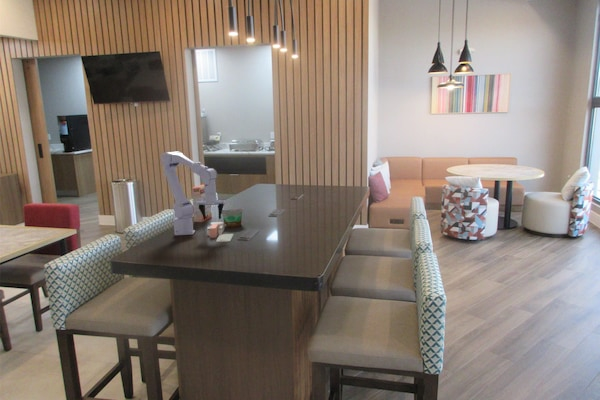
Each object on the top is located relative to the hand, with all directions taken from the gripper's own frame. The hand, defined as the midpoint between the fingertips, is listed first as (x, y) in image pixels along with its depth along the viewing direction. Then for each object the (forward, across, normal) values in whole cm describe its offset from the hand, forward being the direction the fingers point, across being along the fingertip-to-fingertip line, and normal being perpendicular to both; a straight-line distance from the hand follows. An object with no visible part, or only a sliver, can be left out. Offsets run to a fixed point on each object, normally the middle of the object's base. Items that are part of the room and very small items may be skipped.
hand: (212, 218), depth 219 cm
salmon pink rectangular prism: (+10, 0, +3) cm, 10 cm away
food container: (+10, +8, +19) cm, 23 cm away
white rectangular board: (+9, +6, -5) cm, 12 cm away
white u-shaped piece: (+9, 0, +9) cm, 13 cm away
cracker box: (+10, -13, +40) cm, 43 cm away
